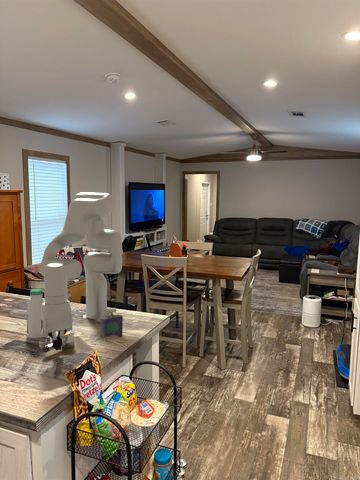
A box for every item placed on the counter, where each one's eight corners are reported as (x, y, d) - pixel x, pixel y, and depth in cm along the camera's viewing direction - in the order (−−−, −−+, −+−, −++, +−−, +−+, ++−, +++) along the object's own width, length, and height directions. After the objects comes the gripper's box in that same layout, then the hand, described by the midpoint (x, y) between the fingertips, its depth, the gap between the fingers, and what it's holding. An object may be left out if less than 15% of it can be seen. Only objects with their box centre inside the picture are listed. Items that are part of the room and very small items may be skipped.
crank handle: (69, 342, 137) (69, 330, 137) (77, 345, 135) (77, 332, 134) (38, 355, 126) (38, 341, 126) (46, 358, 124) (46, 345, 123)
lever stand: (78, 339, 144) (78, 328, 144) (93, 353, 133) (93, 340, 132) (37, 349, 135) (36, 336, 134) (49, 364, 123) (49, 351, 122)
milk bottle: (51, 335, 147) (50, 288, 145) (38, 343, 140) (37, 293, 137) (36, 333, 150) (35, 286, 147) (22, 339, 143) (21, 291, 140)
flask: (101, 341, 144) (101, 315, 142) (99, 338, 146) (99, 313, 145) (123, 336, 148) (123, 312, 147) (120, 334, 151) (121, 309, 150)
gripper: (73, 292, 132) (74, 340, 134) (30, 299, 123) (32, 350, 125) (81, 298, 126) (81, 347, 128) (37, 305, 117) (38, 358, 119)
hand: (57, 348), depth 127 cm, fingers closed
